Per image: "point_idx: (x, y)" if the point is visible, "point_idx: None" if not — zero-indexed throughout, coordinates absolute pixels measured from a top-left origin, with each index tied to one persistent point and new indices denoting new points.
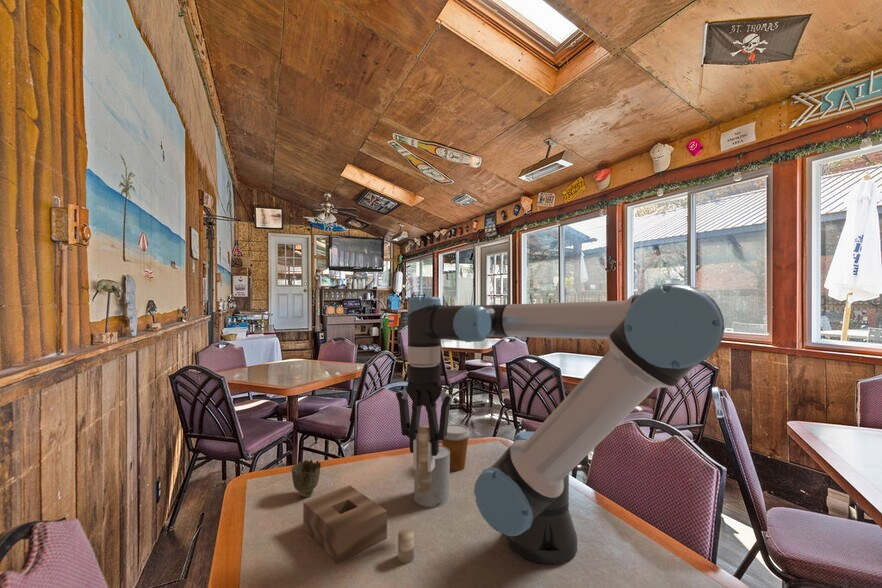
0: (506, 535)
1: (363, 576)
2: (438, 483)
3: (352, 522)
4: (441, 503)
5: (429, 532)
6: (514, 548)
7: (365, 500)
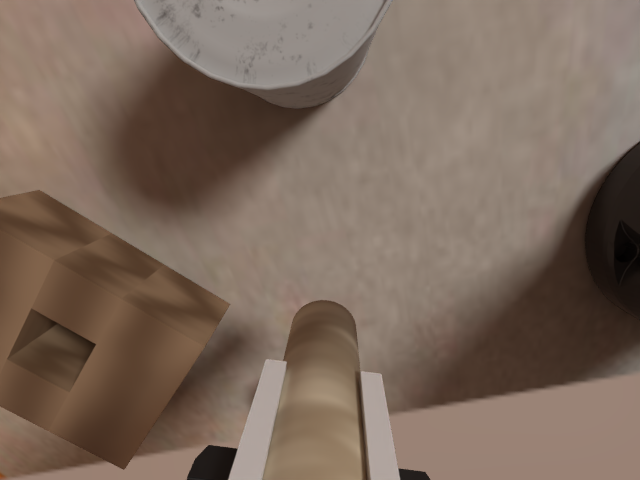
0: (595, 251)
1: (237, 430)
2: (338, 82)
3: (131, 422)
4: (348, 82)
5: (342, 253)
6: (607, 294)
7: (96, 302)
